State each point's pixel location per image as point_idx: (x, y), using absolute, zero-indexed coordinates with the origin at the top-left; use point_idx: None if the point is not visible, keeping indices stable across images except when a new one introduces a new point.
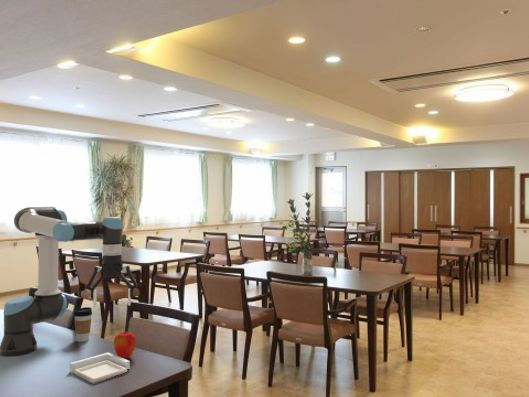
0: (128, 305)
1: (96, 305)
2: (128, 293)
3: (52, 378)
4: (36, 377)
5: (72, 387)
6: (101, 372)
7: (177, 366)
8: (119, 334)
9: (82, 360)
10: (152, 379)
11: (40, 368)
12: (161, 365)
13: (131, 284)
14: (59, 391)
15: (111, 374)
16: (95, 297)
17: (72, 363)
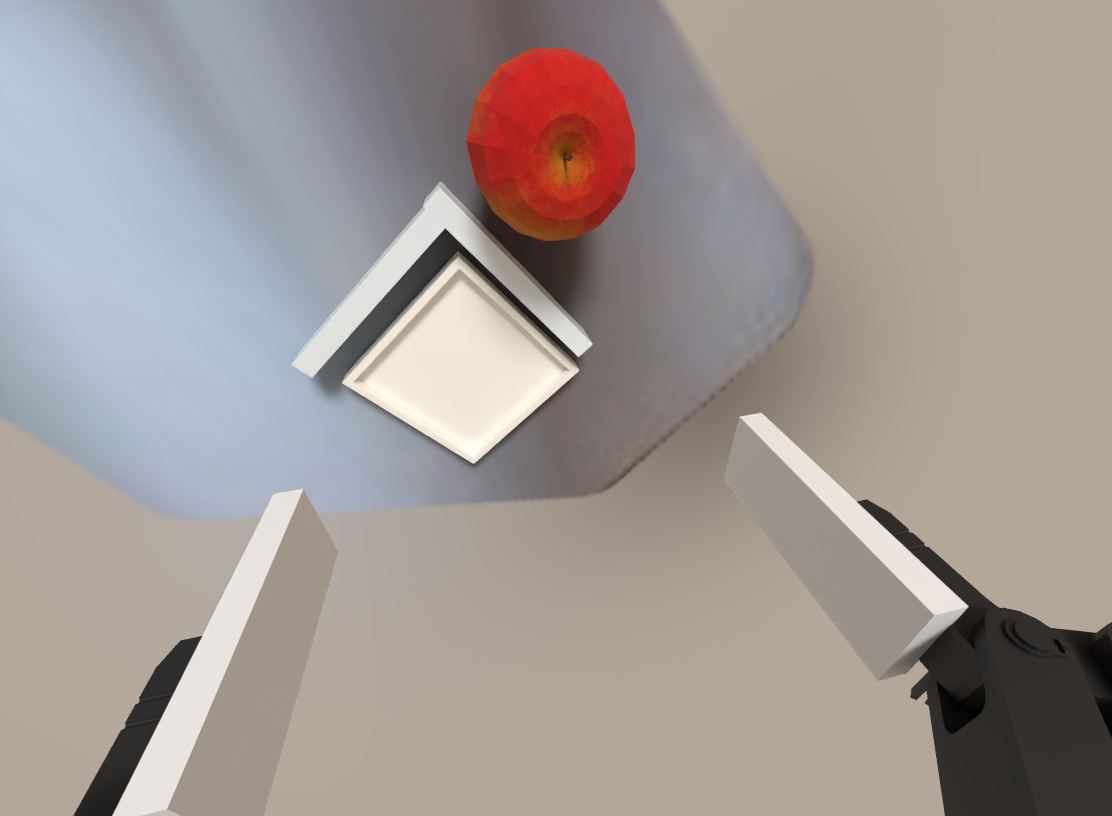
0: (728, 479)
1: (303, 491)
2: (834, 616)
3: (268, 412)
4: (174, 403)
5: (408, 478)
6: (473, 380)
7: (772, 299)
8: (525, 180)
9: (341, 330)
10: (666, 416)
11: (73, 287)
12: (713, 283)
13: (1090, 721)
14: (378, 503)
15: (525, 414)
16: (295, 686)
17: (309, 370)
